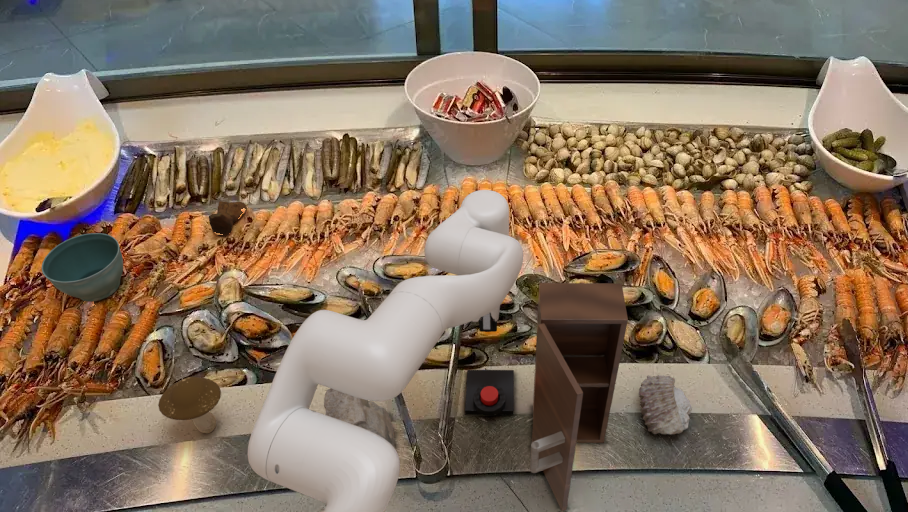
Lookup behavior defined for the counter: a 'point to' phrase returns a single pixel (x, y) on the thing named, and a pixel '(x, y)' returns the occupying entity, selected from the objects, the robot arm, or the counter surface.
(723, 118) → the counter surface
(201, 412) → the mushroom
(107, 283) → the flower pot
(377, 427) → the stone
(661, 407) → the seashell
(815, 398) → the counter surface
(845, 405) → the counter surface
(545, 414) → the door
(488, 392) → the button
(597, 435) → the cupboard
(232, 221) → the sculpture
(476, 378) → the control box
